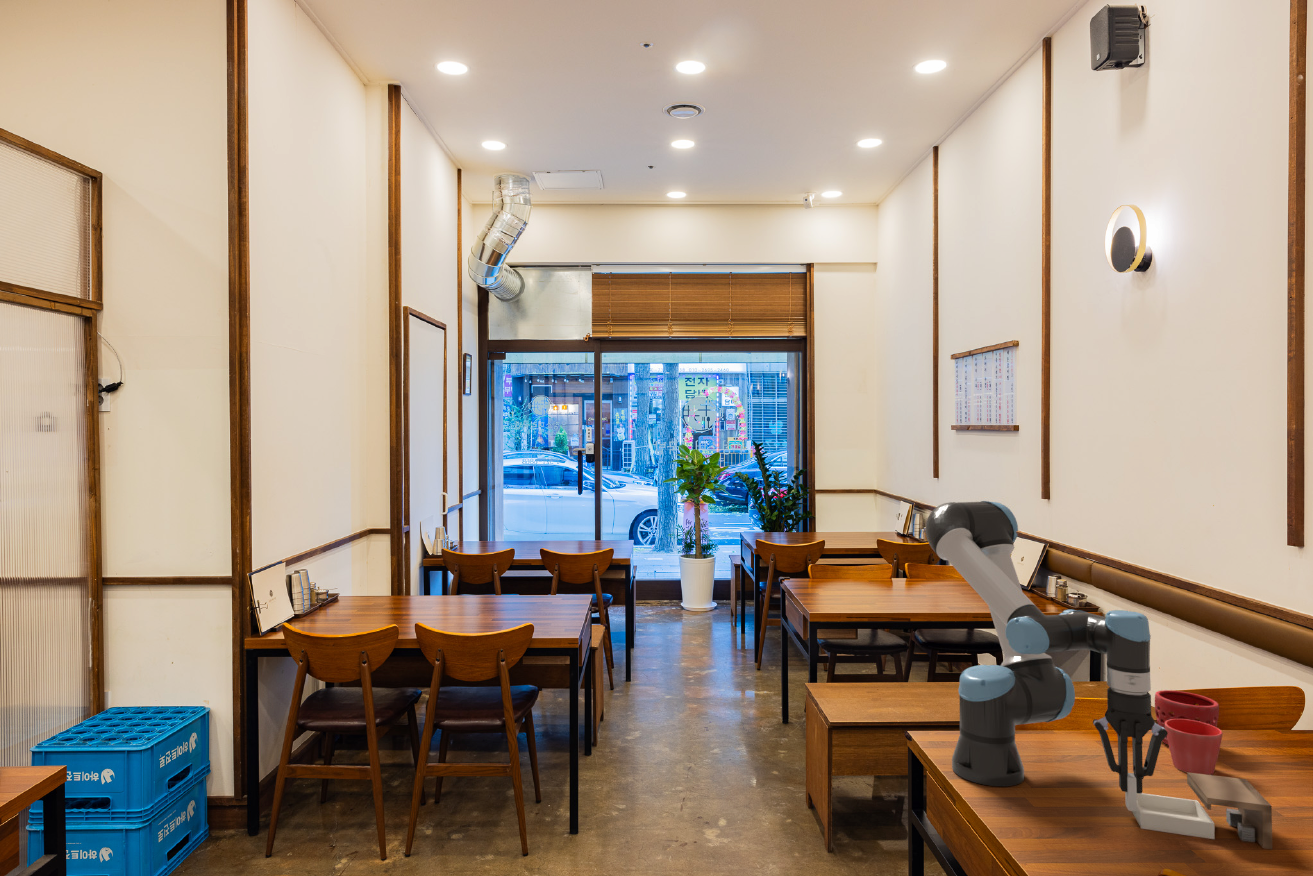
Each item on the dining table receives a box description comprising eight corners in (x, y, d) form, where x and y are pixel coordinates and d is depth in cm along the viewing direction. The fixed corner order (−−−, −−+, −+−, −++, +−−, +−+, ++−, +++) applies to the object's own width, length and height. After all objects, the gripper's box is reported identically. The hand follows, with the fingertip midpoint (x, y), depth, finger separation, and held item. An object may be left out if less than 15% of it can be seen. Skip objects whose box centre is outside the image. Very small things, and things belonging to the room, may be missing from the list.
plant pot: (1203, 760, 180) (1202, 709, 181) (1144, 741, 192) (1144, 694, 192) (1229, 749, 187) (1229, 700, 187) (1171, 732, 198) (1171, 685, 199)
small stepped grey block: (1242, 840, 143) (1241, 827, 143) (1226, 821, 151) (1226, 808, 151) (1254, 842, 142) (1254, 829, 142) (1238, 822, 150) (1238, 810, 150)
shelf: (1208, 840, 143) (1207, 797, 143) (1187, 811, 154) (1186, 772, 155) (1272, 849, 140) (1271, 805, 140) (1246, 819, 151) (1245, 779, 151)
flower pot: (1225, 783, 168) (1224, 738, 168) (1166, 772, 174) (1165, 729, 174) (1220, 765, 177) (1220, 724, 177) (1164, 756, 183) (1163, 715, 183)
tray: (1141, 828, 148) (1140, 812, 148) (1129, 806, 157) (1128, 791, 157) (1214, 839, 144) (1214, 823, 144) (1197, 815, 153) (1197, 800, 153)
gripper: (1095, 691, 152) (1097, 811, 151) (1171, 698, 147) (1174, 821, 147) (1088, 681, 159) (1090, 795, 158) (1161, 687, 154) (1163, 805, 154)
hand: (1131, 808), depth 152 cm, fingers closed
